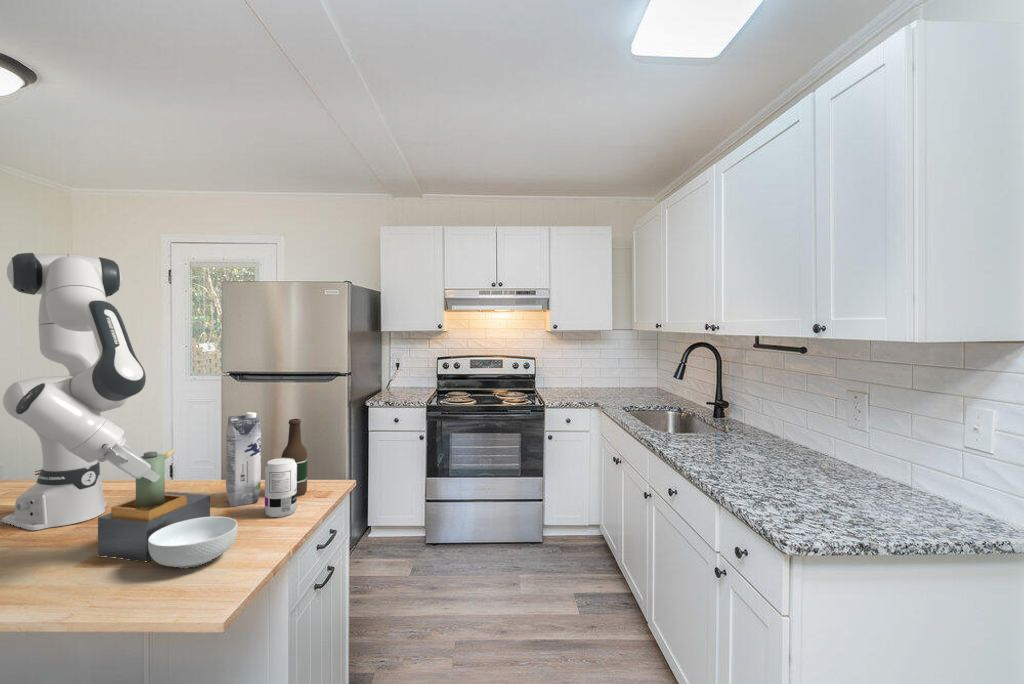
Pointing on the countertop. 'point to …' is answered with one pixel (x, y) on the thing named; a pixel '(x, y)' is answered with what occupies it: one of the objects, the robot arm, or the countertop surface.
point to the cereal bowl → (192, 541)
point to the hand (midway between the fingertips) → (153, 475)
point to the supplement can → (280, 487)
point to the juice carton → (243, 459)
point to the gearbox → (145, 523)
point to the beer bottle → (297, 455)
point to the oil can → (149, 490)
